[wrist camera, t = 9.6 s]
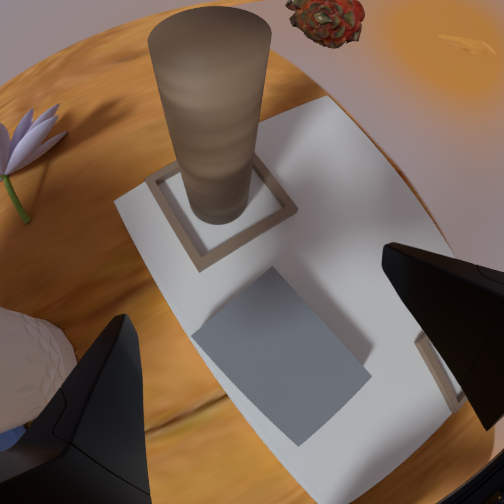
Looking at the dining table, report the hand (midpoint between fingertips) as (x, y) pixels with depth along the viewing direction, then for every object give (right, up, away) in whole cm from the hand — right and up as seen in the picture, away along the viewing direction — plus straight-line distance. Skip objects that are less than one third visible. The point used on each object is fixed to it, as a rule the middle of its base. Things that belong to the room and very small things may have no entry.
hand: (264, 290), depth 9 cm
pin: (-3, +5, +10) cm, 12 cm away
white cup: (-16, -7, +8) cm, 19 cm away
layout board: (+6, -2, +11) cm, 12 cm away
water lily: (-21, +8, +12) cm, 25 cm away
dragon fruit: (+8, +27, +19) cm, 34 cm away
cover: (+1, -5, +8) cm, 10 cm away
